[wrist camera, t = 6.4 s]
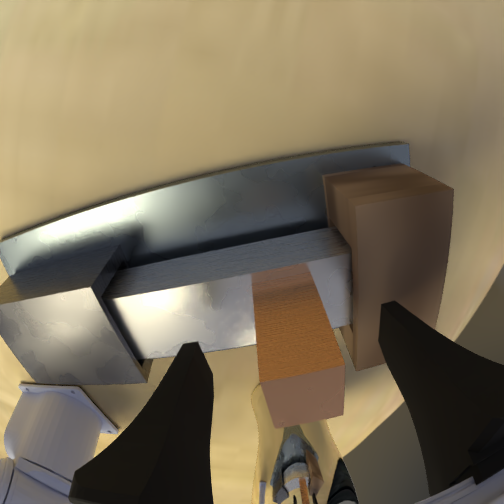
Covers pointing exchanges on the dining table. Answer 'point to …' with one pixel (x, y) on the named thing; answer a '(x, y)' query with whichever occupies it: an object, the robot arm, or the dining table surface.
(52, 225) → the outer sleeve
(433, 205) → the socket block
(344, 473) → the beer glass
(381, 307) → the robot arm
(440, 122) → the dining table surface
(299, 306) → the grey slider with handle
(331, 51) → the dining table surface
